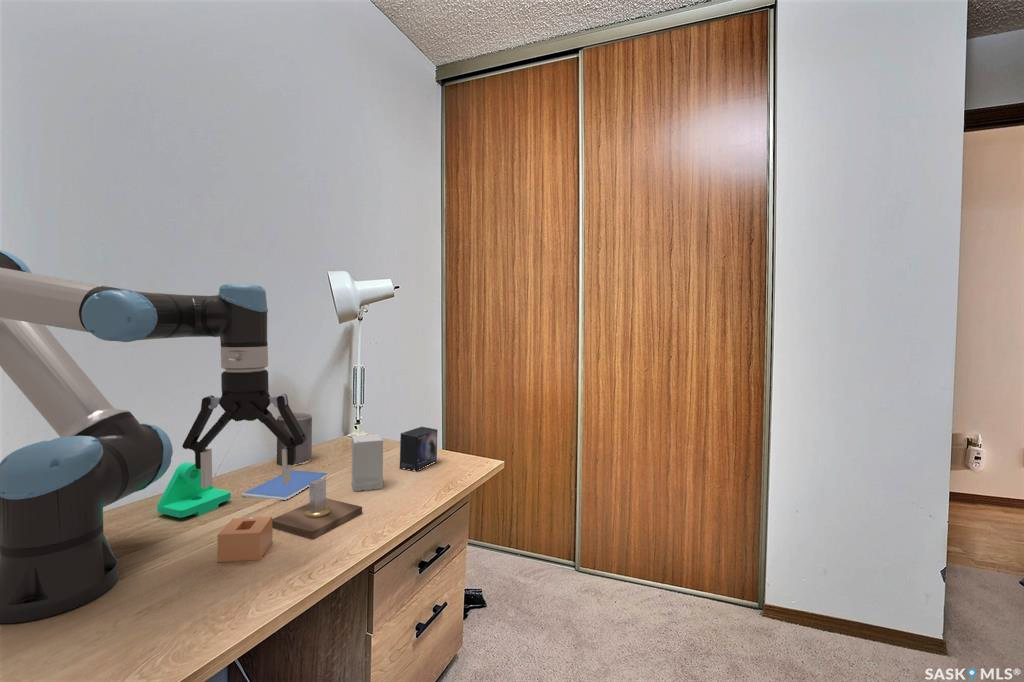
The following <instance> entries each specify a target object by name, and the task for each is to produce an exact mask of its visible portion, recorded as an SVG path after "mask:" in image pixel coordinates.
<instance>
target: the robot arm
mask: <svg viewBox="0 0 1024 682" xmlns="http://www.w3.org/2000/svg"><path fill="white" fill-rule="evenodd" d="M267 301H268V300H267V291H266V290H265V288H264V287H262V286H261V285H257V284H255V285H254V284H245V283H243V284H239V283H238V284H237V283H233V284H232V283H231V284H230V283H229V284H227V283H225V284H221V285H220V286H219V290H218V294H216V295H197V294H196V295H194V294H175V293H160V292H157V293H156V292H146V291H145V292H144V291H136V290H130V289H125V288H119V287H112V286H106V285H99V284H94V283H88V282H83V281H78V280H72V279H66V278H61V277H60V278H59V277H56V276H49V275H44V274H40V273H39V274H38V273H33V272H32V271H31V269H30V268H29V266H28V265H27V264H26V263H25V262H24V261H23V260H22V259H20V258H19V257H17V256H16V255H14V254H12V253H11V252H9V251H6V250H2V249H0V368H1V369H2V370H3V372H4V373H6V375H7V376H8V377H9V378H10V380H11V381H12V382H13V384H15V386H16V387H17V388H18V389H19V390H20V391H21V393H22V394H23V395H24V397H26V399H27V400H28V401H29V402H30V403H31V405H33V407H34V408H35V409H36V410H37V411H38V413H39V414H40V415H41V416H42V417H43V419H44V420H45V421H46V422H47V423H48V425H49V426H50V427H51V428H52V429H53V430H54V431H55V432H56V434H57V435H58V436H59V437H57V438H53V439H51V440H42V441H40V442H39V441H38V442H35V443H34V442H33V443H31V444H28V445H26V446H22V447H21V448H18V449H16V450H14V451H12V452H10V453H9V454H7V455H6V456H5V457H4V458H3V459H2V460H1V461H0V624H8V623H7V622H10V623H9V624H14V623H15V624H16V623H17V622H18V623H24V622H31V621H37V620H40V619H45V618H48V617H52V616H56V615H59V614H62V613H64V612H65V613H66V612H67V611H70V610H74V609H75V608H78V607H80V606H83V605H85V604H88V603H89V602H92V601H93V600H95V599H97V598H99V597H101V596H102V595H103V594H105V593H107V592H108V591H109V590H110V589H111V588H112V587H113V586H115V584H116V583H117V582H118V580H119V563H118V560H117V558H116V556H115V553H114V551H113V549H112V548H111V546H110V543H109V541H108V540H107V537H106V535H105V533H104V508H105V507H107V506H109V505H111V504H114V503H116V502H118V501H119V500H122V499H124V498H126V497H128V496H130V495H132V494H134V493H136V492H139V491H140V492H141V491H143V490H145V489H146V488H148V487H149V486H150V485H152V484H153V483H155V482H157V481H158V480H159V479H161V478H162V477H163V476H164V475H165V474H166V472H167V471H168V469H169V468H170V466H171V463H172V457H173V453H174V451H173V445H172V442H171V439H170V437H169V436H168V434H167V432H165V430H163V429H162V428H161V427H159V426H157V425H154V424H148V423H140V421H138V420H137V418H136V417H135V416H134V415H133V413H132V412H131V411H130V410H127V409H117V408H115V407H114V406H113V405H112V404H111V403H110V401H108V399H107V398H106V397H105V395H104V394H103V393H102V392H101V390H100V389H98V387H97V386H96V385H95V384H94V383H93V381H92V380H91V379H90V377H89V376H88V375H87V374H86V372H85V371H84V370H83V369H82V368H81V367H80V365H78V363H77V362H76V361H75V360H74V358H73V357H72V356H71V355H70V353H69V352H68V351H67V350H66V349H65V347H63V345H62V344H61V343H60V341H59V340H58V339H57V338H56V337H55V335H53V333H52V332H51V331H50V329H48V327H54V328H61V329H66V330H72V331H78V332H84V333H89V334H92V335H93V336H95V337H96V338H97V339H100V340H103V341H108V342H118V343H119V342H120V343H121V342H122V343H130V342H131V343H132V342H136V341H144V340H145V341H146V340H158V339H174V338H175V339H176V338H187V337H188V338H189V337H190V338H199V337H201V338H202V337H203V338H206V337H211V338H220V339H219V341H220V367H221V368H222V369H223V370H224V371H222V373H221V374H220V375H221V376H220V377H221V378H220V379H221V380H220V381H221V383H220V385H221V386H220V387H221V396H220V397H215V396H214V395H208V396H205V397H203V398H201V405H200V410H199V412H198V415H197V416H196V418H195V420H194V422H193V424H192V426H191V428H190V430H189V431H188V433H187V436H186V437H185V438H184V442H183V443H182V449H184V450H191V451H193V452H194V462H195V463H194V464H195V467H196V469H201V489H202V488H207V487H208V486H209V485H212V484H213V455H212V454H213V453H212V452H213V449H212V448H208V446H209V445H210V444H211V443H212V441H214V440H215V438H216V437H217V436H218V435H219V434H220V433H221V432H222V430H223V429H225V427H226V426H227V425H228V424H229V422H230V421H231V420H233V421H234V422H241V421H247V422H254V421H256V420H258V421H259V422H260V423H261V424H263V425H264V426H265V427H267V428H268V430H270V432H271V433H272V434H273V435H274V436H275V437H276V439H277V438H278V439H279V440H280V441H281V442H282V443H283V444H284V445H285V447H284V448H283V449H282V465H281V467H282V468H281V469H282V470H281V471H282V472H281V474H282V484H287V483H288V482H289V481H290V480H291V470H292V469H291V467H292V466H291V465H293V464H294V463H295V461H296V446H298V445H301V444H303V443H304V442H305V441H306V436H305V434H304V432H303V430H302V429H301V427H300V425H299V423H298V421H297V420H296V418H295V416H294V414H293V413H294V411H292V409H291V407H290V406H289V400H288V395H287V394H285V393H282V394H280V395H273V396H271V395H270V393H269V371H268V370H267V369H266V368H267V367H268V366H269V350H268V348H269V347H268V345H269V344H268V313H269V309H268V302H267ZM47 326H48V327H47ZM271 404H273V406H274V407H275V408H277V410H278V413H279V414H280V415H281V416H282V418H283V419H284V421H285V423H286V425H287V427H288V428H289V430H290V432H291V434H292V435H293V437H294V438H293V437H292V436H291V435H290V434H289V432H288V431H287V430H286V429H285V428H284V427H283V426H282V425H281V424H280V423H279V422H278V421H277V418H275V417H274V416H273V413H272V412H271V411H270V410H269V409H268V407H269V406H270V405H271ZM218 406H220V407H221V408H222V410H223V411H224V412H223V414H222V415H221V416H220V417H219V418H218V420H217V421H216V422H215V423H214V425H212V427H211V428H210V429H209V430H208V431H207V433H205V435H203V436H202V438H201V439H200V440H199V438H200V437H201V435H202V432H203V431H204V428H205V427H206V425H207V423H208V421H209V420H210V418H211V415H212V413H213V411H214V409H216V408H217V407H218Z"/></svg>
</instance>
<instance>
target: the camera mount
mask: <svg viewBox="0 0 1024 682" xmlns="http://www.w3.org/2000/svg"><path fill="white" fill-rule="evenodd" d="M231 499H232V496H231V491H230V490H225V489H220V488H215V487H214V486H213V485H212V484H211V485H209V486H208V487H207V488H202V489H201V469H196V467H195V463H193V462H187V461H186V462H183V463H181V464H179V465H178V466H177V468H176V469H175V471H174V472H173V474H172V477H171V478H170V480H169V482H168V484H167V485H166V488H165V490H164V492H163V493H162V496H161V497H160V499H159V501H158V503H157V504H156V512H157V513H158V514H163V515H167V516H171V517H175V518H187V517H188V516H191V515H192V516H197V517H199V516H202V515H204V514H207V513H209V512H212V511H214V510H217V509H218V508H219V505H220V504H221V503H225V502H227V501H229V500H231ZM201 514H202V515H201Z"/></svg>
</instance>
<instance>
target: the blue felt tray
mask: <svg viewBox="0 0 1024 682" xmlns="http://www.w3.org/2000/svg"><path fill="white" fill-rule="evenodd" d="M328 473H329V472H317V471H308V470H307V471H306V470H296V469H291V480H290V481H289V482H288V483H287V484H282V473H281V474H280V475H278V476H276V477H273V478H272V479H268V480H267V481H265V482H263V483H260V484H259V485H257V486H254V487H253V488H250V489H248V490H246V491H244V492H242V493H241V497H242V498H247V497H248V498H249V499H257V498H263V499H262V500H267V499H276V500H275V501H278V500H285V501H288V500H290V499H291V497H292V498H293V497H295V496H296V494H297V495H298V494H300V493H302V492H303V491H302V490H304V489H305V488H307V487H308V486H309V483H310V482H313V481H315V480H318V479H321V478H323V477H325V476H326V475H328ZM307 489H308V488H307ZM305 490H306V489H305ZM305 490H304V491H305ZM301 491H302V492H301ZM299 492H300V493H299ZM287 499H288V500H287Z"/></svg>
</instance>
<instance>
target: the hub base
mask: <svg viewBox="0 0 1024 682" xmlns="http://www.w3.org/2000/svg"><path fill="white" fill-rule="evenodd" d="M308 489H309V493H308V494H309V500H308V501H309V502H308V503H306V504H304V505H301V506H299V507H296V508H294V509H292V510H289V511H288V512H285V513H283V514H280V515H278V516H276V517H272V529H276V530H279V531H283V532H286V533H289V534H293V535H295V536H300V537H303V538H307V539H310V540H314V539H316V538H318V537H319V536H321V535H323V534H326V533H327V532H329V531H331V530H332V529H334V528H337V527H339V526H341V525H342V524H344V523H346V522H348V521H350V520H351V519H354V518H356V517H358V516H360V515H361V514H363V506H360V505H357V504H356V505H355V504H353V503H348V502H344V501H341V500H336V499H335V500H334V499H330V498H328V497H327V480H326V478H325V479H318V480H315V481H313V482H310V483H309V488H308Z"/></svg>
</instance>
